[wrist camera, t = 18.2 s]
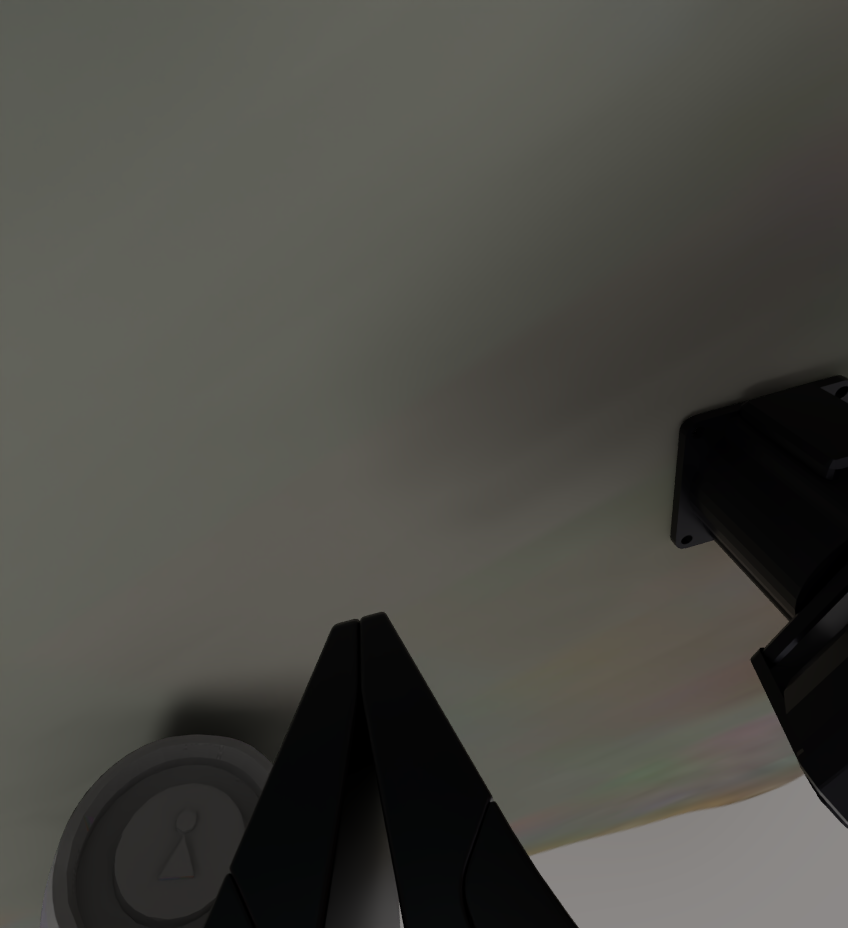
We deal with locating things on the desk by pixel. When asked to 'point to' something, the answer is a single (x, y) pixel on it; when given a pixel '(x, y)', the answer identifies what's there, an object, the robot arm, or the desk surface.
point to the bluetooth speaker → (155, 836)
